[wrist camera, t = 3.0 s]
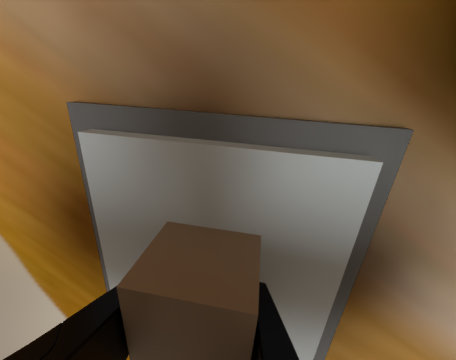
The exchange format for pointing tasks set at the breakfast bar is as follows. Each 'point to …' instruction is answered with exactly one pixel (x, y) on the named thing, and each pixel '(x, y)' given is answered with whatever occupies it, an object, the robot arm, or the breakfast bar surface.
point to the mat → (268, 136)
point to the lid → (222, 238)
